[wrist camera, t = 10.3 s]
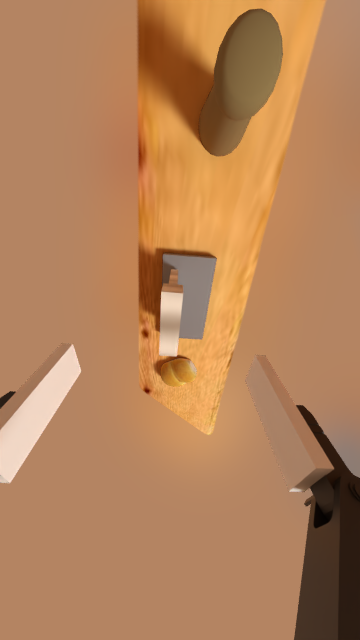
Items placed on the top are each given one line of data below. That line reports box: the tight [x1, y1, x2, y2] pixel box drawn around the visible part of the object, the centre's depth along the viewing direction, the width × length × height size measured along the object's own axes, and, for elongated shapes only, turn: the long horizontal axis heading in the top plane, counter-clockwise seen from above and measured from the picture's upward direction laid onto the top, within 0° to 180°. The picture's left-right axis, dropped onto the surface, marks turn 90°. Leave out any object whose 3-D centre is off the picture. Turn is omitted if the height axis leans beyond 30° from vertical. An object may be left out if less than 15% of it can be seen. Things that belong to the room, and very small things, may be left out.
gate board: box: [162, 253, 217, 339], centre depth 34 cm, size 17×9×2 cm, turn 176°
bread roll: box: [160, 358, 197, 387], centre depth 43 cm, size 8×9×4 cm
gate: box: [159, 269, 183, 356], centre depth 28 cm, size 12×3×10 cm, turn 175°
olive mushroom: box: [199, 9, 283, 156], centre depth 17 cm, size 6×6×11 cm
